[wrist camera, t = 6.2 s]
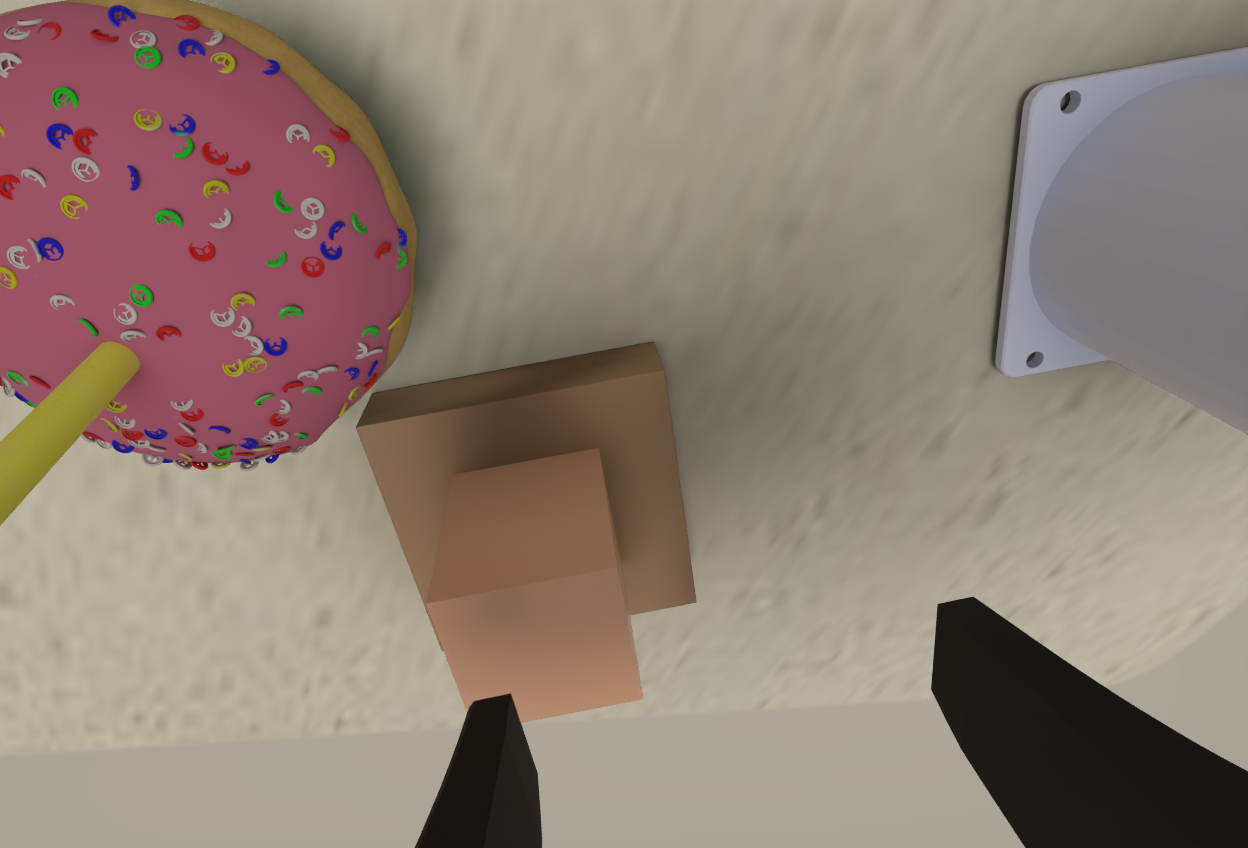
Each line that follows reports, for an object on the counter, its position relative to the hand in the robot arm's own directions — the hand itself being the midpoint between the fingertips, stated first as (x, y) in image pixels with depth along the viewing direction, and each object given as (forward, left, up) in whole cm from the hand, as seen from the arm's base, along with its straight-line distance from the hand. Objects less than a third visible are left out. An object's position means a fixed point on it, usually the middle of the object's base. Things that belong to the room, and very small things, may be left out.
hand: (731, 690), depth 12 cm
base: (+4, +2, -10) cm, 11 cm away
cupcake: (+9, -7, -11) cm, 15 cm away
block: (+4, +2, -8) cm, 9 cm away
